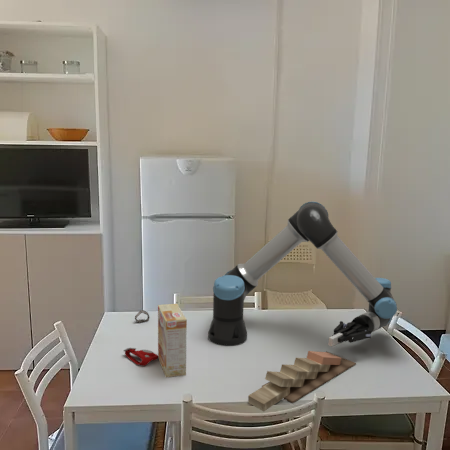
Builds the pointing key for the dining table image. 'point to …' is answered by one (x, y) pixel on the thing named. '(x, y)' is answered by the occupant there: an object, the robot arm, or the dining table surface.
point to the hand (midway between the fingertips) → (330, 342)
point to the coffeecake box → (172, 340)
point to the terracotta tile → (324, 358)
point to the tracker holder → (141, 356)
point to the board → (318, 380)
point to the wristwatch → (139, 314)
